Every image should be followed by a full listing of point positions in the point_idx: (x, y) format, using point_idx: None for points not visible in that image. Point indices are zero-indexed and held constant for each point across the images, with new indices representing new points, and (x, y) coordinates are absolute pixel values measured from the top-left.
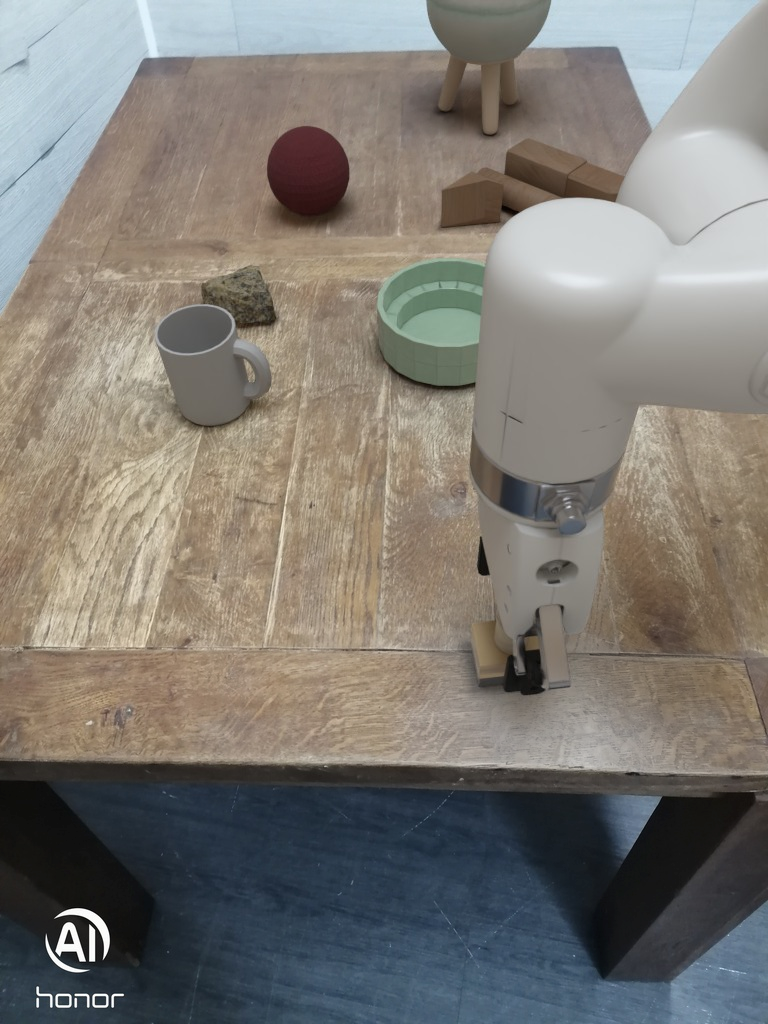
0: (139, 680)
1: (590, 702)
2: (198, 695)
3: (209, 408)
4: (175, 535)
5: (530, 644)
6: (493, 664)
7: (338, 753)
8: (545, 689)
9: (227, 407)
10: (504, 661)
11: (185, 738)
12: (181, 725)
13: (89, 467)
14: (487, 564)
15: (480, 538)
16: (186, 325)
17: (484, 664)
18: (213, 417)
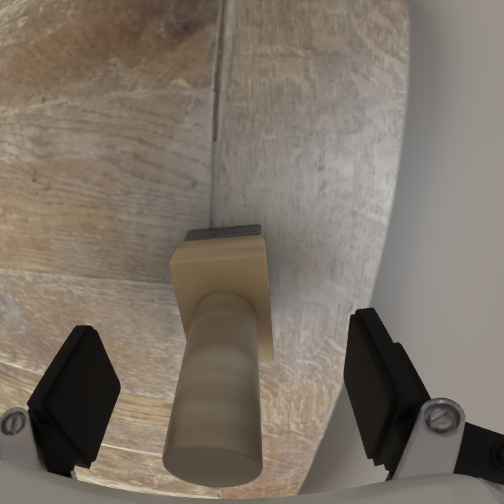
0: (244, 497)
1: (305, 156)
2: (258, 482)
3: None
4: (122, 483)
5: (234, 287)
6: (272, 345)
7: (325, 422)
8: (402, 346)
9: None
10: (268, 330)
11: (291, 482)
12: (281, 484)
13: None
14: (107, 406)
15: (81, 466)
16: None
17: (271, 357)
18: None
